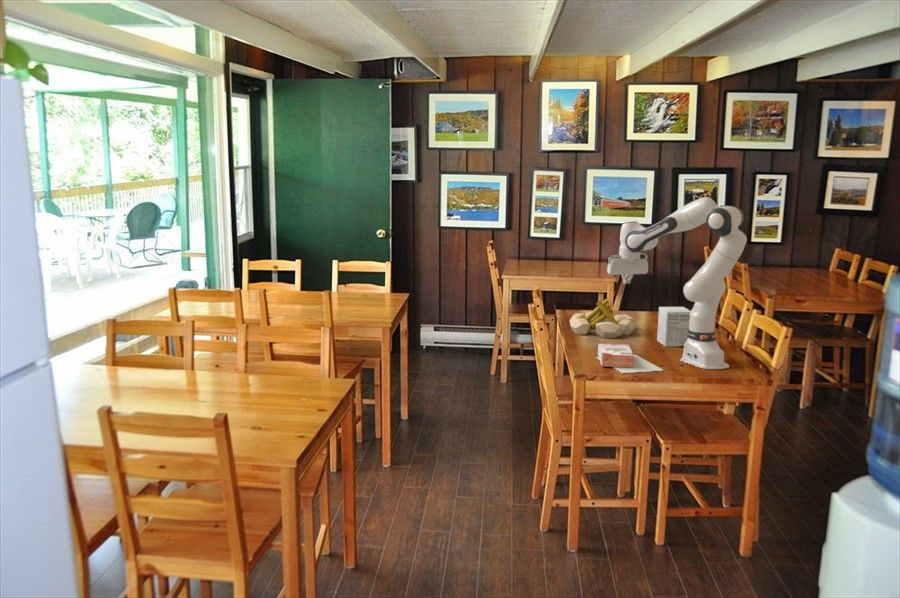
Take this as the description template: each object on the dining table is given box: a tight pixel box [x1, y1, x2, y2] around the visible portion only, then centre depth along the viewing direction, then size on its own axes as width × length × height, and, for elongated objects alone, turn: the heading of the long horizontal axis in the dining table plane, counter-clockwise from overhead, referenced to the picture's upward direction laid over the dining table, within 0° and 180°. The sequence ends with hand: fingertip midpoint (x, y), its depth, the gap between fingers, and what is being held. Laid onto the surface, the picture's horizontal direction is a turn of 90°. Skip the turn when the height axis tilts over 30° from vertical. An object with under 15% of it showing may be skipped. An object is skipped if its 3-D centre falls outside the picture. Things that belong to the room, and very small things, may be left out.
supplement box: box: [656, 306, 691, 347], centre depth 381 cm, size 13×13×18 cm
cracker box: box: [597, 342, 635, 368], centre depth 346 cm, size 14×6×21 cm
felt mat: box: [595, 354, 664, 375], centre depth 344 cm, size 26×20×1 cm
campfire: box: [569, 298, 636, 339], centre depth 406 cm, size 35×34×17 cm
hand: (626, 283), depth 371 cm, fingers closed
